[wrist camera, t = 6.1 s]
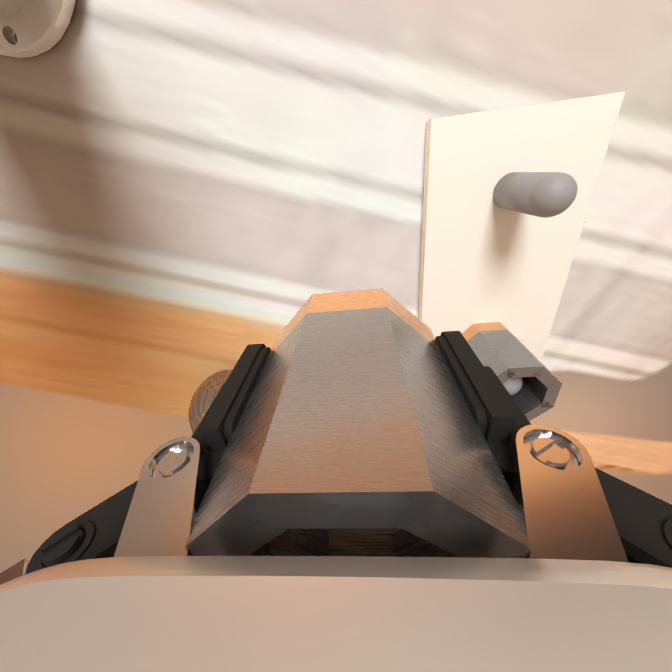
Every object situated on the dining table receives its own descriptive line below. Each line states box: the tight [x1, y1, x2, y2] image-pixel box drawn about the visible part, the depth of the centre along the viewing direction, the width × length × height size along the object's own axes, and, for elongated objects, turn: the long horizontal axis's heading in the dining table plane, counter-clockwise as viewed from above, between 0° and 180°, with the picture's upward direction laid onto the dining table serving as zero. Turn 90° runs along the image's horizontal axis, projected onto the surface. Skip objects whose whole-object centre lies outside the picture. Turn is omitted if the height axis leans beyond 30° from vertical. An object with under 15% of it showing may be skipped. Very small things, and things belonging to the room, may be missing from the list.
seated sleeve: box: [462, 322, 562, 421], centre depth 25 cm, size 6×6×7 cm
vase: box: [189, 370, 232, 434], centre depth 30 cm, size 7×7×9 cm
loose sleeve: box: [184, 289, 534, 558], centre depth 8 cm, size 6×6×7 cm
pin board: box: [418, 92, 625, 395], centre depth 22 cm, size 24×12×8 cm, turn 6°
